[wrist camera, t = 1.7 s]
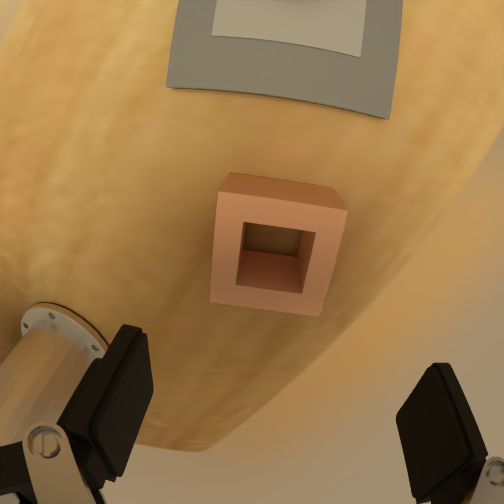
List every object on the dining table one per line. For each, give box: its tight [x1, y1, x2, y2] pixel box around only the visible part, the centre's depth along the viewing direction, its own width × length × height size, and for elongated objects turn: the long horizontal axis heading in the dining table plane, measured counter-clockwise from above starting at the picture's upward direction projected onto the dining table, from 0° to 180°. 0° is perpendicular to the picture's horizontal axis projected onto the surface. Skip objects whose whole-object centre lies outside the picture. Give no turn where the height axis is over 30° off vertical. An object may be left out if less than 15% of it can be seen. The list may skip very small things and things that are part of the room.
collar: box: [209, 173, 348, 317], centre depth 20 cm, size 7×7×5 cm
